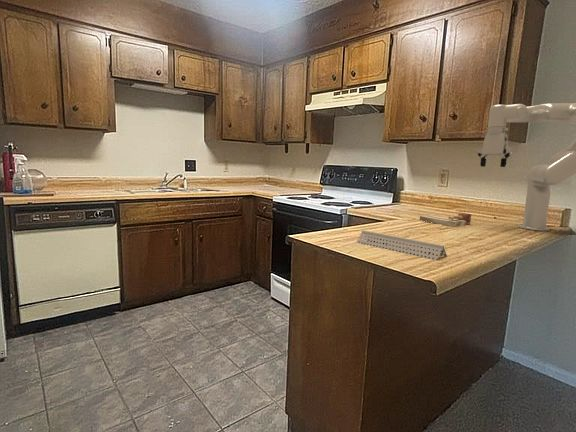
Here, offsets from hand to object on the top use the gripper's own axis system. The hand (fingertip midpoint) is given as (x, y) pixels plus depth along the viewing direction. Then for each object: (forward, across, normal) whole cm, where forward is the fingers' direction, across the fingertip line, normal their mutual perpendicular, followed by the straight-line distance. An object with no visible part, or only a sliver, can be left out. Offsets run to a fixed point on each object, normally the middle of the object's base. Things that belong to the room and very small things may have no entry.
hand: (492, 166), depth 175 cm
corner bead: (+30, -14, +81) cm, 88 cm away
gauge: (+30, +9, +10) cm, 33 cm away
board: (+30, +16, +13) cm, 36 cm away
